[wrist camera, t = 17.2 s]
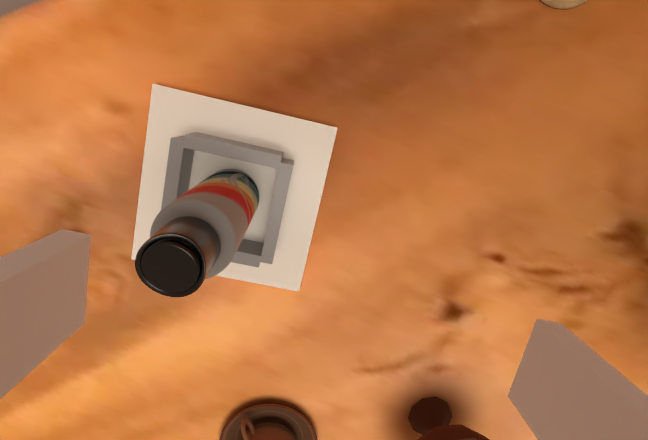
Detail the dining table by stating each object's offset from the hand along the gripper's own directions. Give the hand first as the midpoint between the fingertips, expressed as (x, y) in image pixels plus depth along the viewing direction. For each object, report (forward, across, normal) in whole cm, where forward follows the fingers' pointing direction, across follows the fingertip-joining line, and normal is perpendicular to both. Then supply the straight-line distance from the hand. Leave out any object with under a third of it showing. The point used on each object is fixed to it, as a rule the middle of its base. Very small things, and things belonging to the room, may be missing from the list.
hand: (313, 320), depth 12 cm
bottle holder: (+31, +8, +4) cm, 32 cm away
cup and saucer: (+32, -1, +34) cm, 47 cm away
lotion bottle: (+30, +8, +4) cm, 31 cm away
